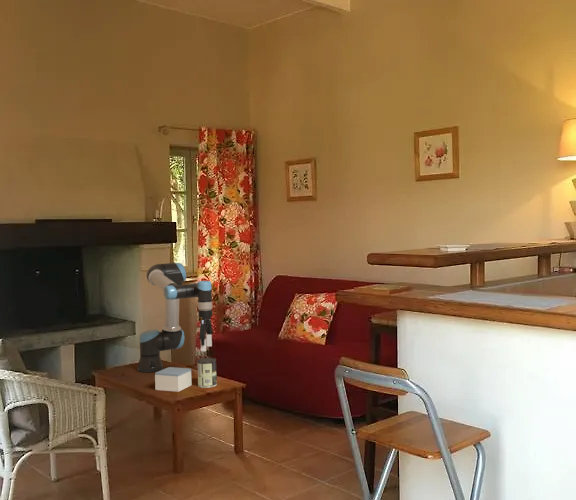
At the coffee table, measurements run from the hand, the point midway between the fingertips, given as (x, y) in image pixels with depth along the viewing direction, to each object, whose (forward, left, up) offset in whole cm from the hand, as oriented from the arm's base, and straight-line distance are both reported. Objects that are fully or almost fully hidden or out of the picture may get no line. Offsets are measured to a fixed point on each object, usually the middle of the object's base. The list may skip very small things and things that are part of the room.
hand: (206, 348), depth 351 cm
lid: (+9, -16, -12) cm, 22 cm away
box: (+9, -16, -20) cm, 27 cm away
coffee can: (0, 0, -20) cm, 20 cm away
